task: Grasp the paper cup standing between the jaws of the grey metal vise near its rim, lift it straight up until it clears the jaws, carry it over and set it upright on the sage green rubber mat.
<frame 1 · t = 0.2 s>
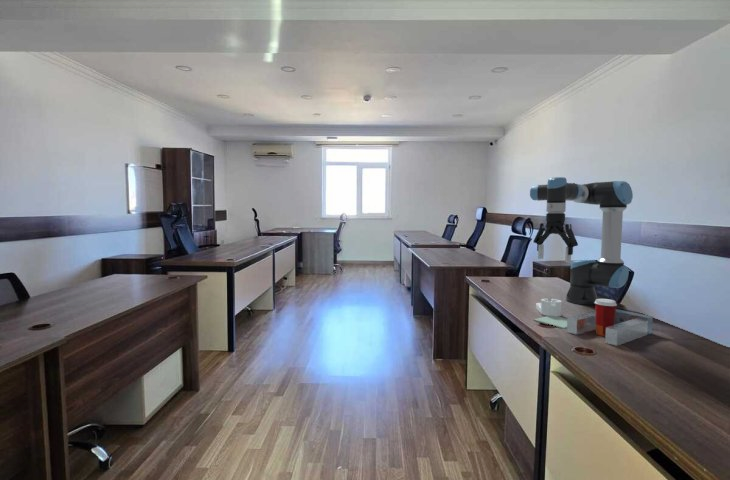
hand: (553, 260, 171), 28 cm above the table, tool pointing down, fingers open, 13 cm apart
paper cup: (603, 334, 155), resting in vise
vise: (603, 334, 155), on the table
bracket: (548, 312, 189), on the table, touching mat
mat: (557, 322, 172), on the table
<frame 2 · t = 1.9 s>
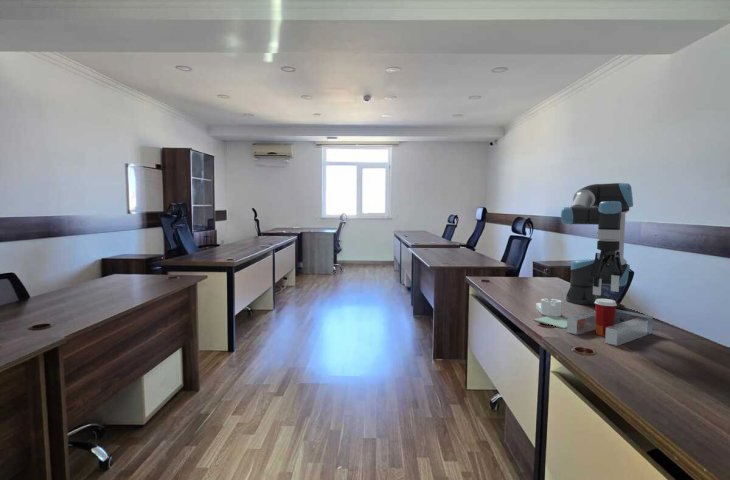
hand: (605, 293, 154), 17 cm above the table, tool pointing down, fingers open, 13 cm apart
nothing on the table moved.
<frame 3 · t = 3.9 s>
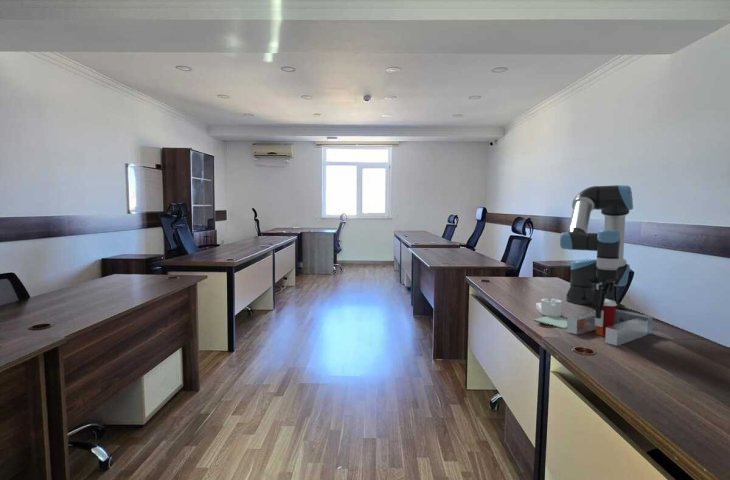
hand: (604, 324, 155), 4 cm above the table, tool pointing down, fingers closed on paper cup, 8 cm apart
paper cup: (603, 334, 155), resting in vise, touching gripper
everything else where it was.
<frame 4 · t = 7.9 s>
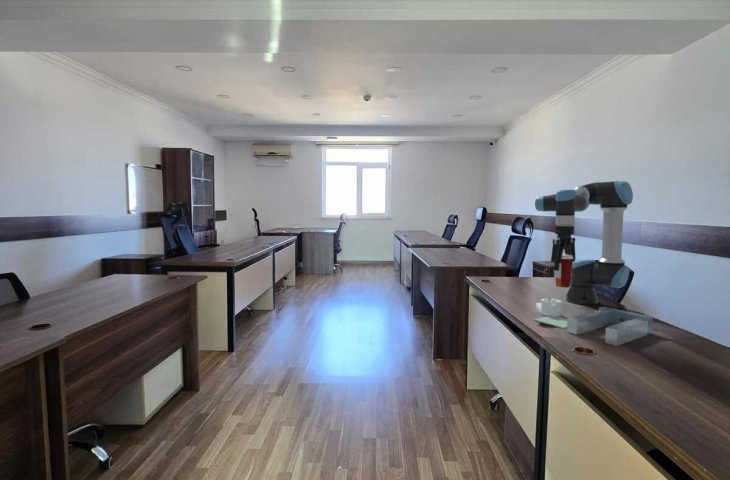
hand: (562, 276, 169), 21 cm above the table, tool pointing down, fingers closed on paper cup, 8 cm apart
paper cup: (562, 286, 170), point 16 cm above the table, touching gripper
everything else where it was.
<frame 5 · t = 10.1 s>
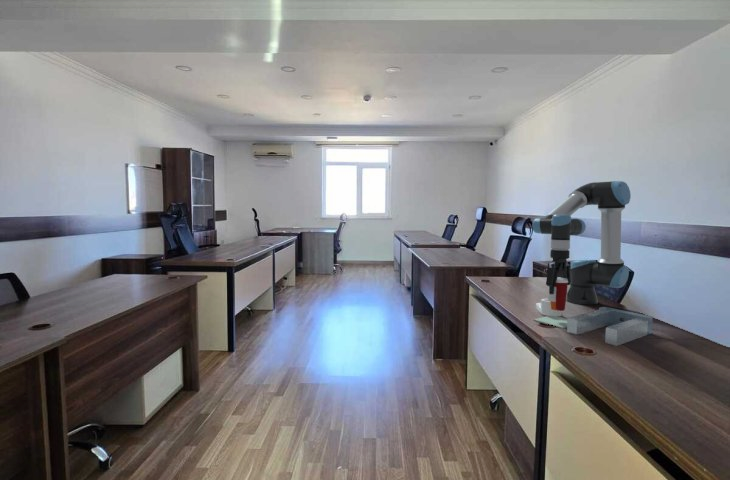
hand: (557, 300, 171), 10 cm above the table, tool pointing down, fingers closed on paper cup, 8 cm apart
paper cup: (557, 309, 172), point 6 cm above the table, touching gripper
everything else where it was.
when the fingers open (6 cm above the table, at t = 11.9 s): paper cup stays where it is, resting on mat.
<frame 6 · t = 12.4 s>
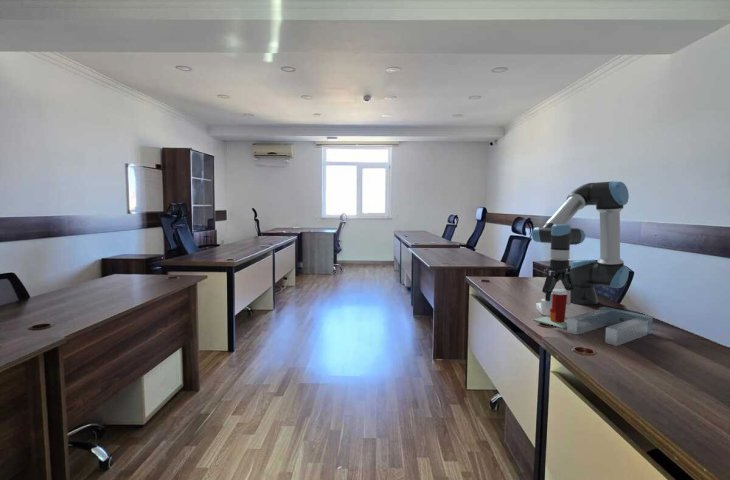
hand: (557, 306, 172), 7 cm above the table, tool pointing down, fingers open, 13 cm apart
paper cup: (557, 321, 172), resting on mat
everything else where it was.
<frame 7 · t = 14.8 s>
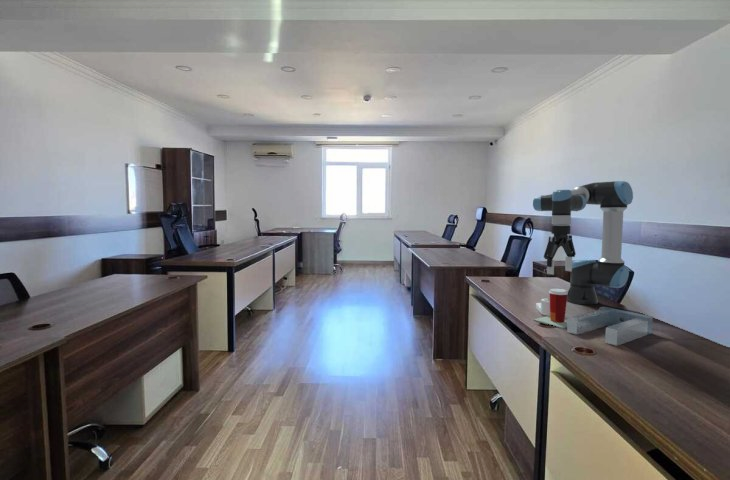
hand: (559, 272, 171), 22 cm above the table, tool pointing down, fingers open, 13 cm apart
nothing on the table moved.
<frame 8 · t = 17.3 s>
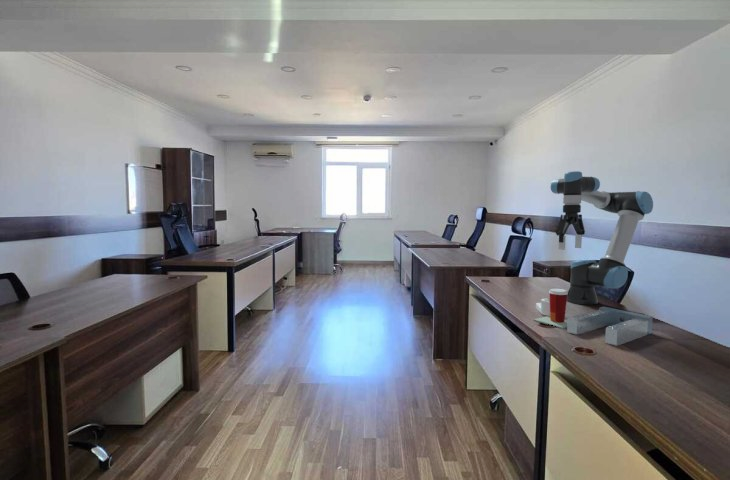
hand: (570, 248, 184), 32 cm above the table, tool pointing down, fingers open, 13 cm apart
nothing on the table moved.
at the end: paper cup inside the target area on the mat (0.0 cm from its centre), point 0.4 cm above the mat's base; paper cup tilted 0°; the gripper is holding nothing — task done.
